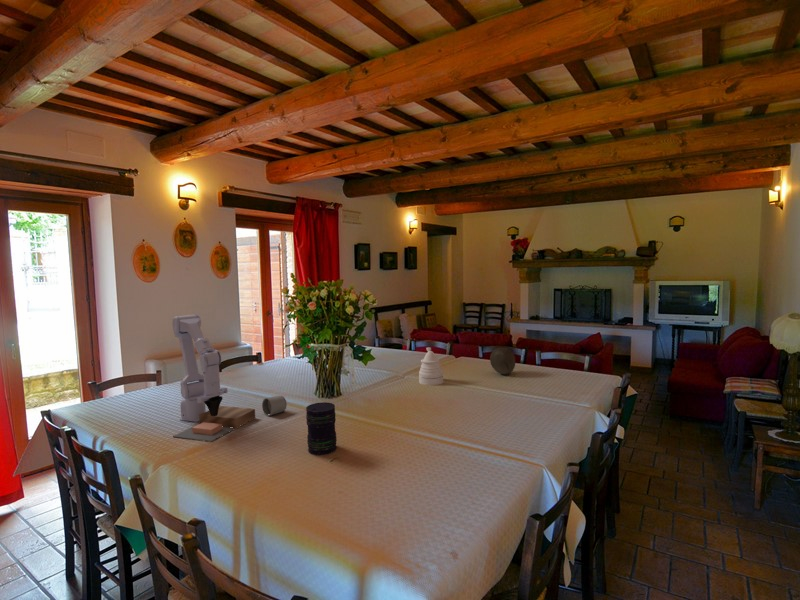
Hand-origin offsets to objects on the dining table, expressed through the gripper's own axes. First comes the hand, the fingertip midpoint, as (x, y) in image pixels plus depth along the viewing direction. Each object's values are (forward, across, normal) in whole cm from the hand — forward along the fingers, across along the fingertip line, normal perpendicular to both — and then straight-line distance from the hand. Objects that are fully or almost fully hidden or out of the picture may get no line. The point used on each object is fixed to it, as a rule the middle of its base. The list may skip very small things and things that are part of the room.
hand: (214, 415), depth 173 cm
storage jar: (+5, -8, -52) cm, 53 cm away
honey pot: (+5, +84, -67) cm, 108 cm away
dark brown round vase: (+5, +108, -102) cm, 149 cm away
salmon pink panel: (+3, -4, 0) cm, 5 cm away
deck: (+5, +8, 0) cm, 9 cm away
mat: (+5, -6, 0) cm, 7 cm away
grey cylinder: (+5, +21, -12) cm, 25 cm away
